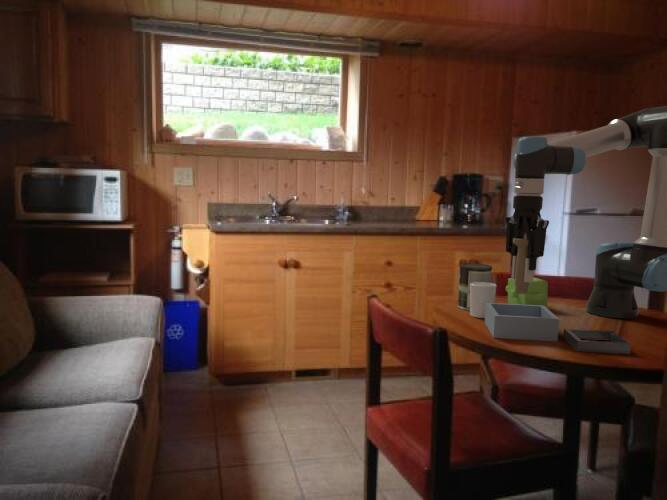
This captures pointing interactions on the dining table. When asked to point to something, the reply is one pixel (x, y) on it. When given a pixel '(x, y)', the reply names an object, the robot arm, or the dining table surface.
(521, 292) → the handle
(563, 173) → the robot arm
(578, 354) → the dining table surface
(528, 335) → the bin
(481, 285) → the white cup
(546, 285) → the gearbox
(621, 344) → the flat grey tray
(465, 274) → the coffee can
